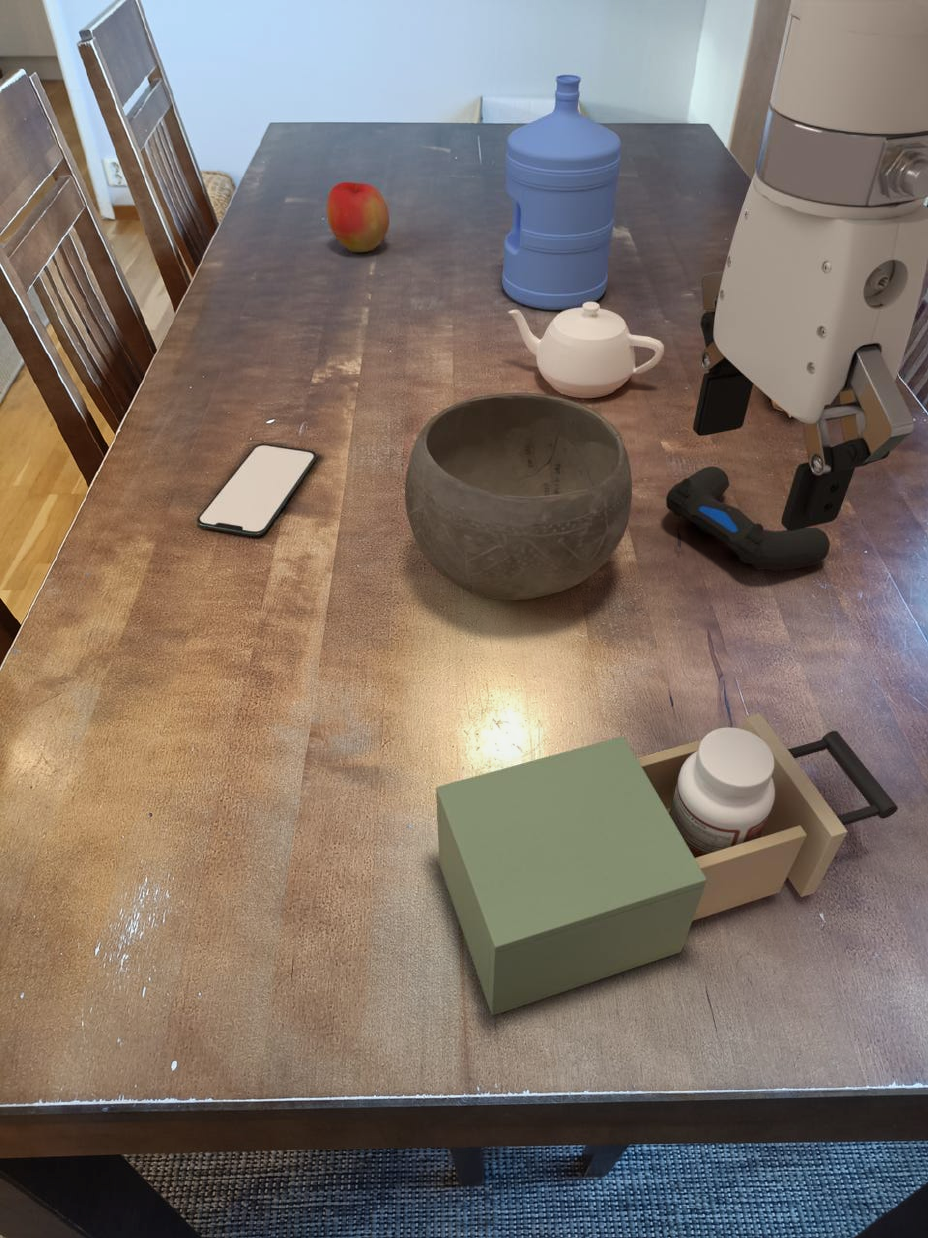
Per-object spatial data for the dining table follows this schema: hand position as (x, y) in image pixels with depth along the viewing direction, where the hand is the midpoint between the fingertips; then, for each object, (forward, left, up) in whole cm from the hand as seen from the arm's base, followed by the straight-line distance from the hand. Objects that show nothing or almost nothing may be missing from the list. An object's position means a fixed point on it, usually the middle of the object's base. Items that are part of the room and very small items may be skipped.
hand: (759, 473), depth 52 cm
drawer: (-8, 0, -27) cm, 29 cm away
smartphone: (+48, +26, -28) cm, 61 cm away
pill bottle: (-8, +3, -26) cm, 28 cm away
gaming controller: (+24, -19, -28) cm, 42 cm away
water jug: (+85, -24, -28) cm, 93 cm away
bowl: (+27, +4, -28) cm, 39 cm away
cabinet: (-8, +14, -28) cm, 33 cm away
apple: (+109, 0, -28) cm, 113 cm away
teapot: (+59, -17, -28) cm, 68 cm away
